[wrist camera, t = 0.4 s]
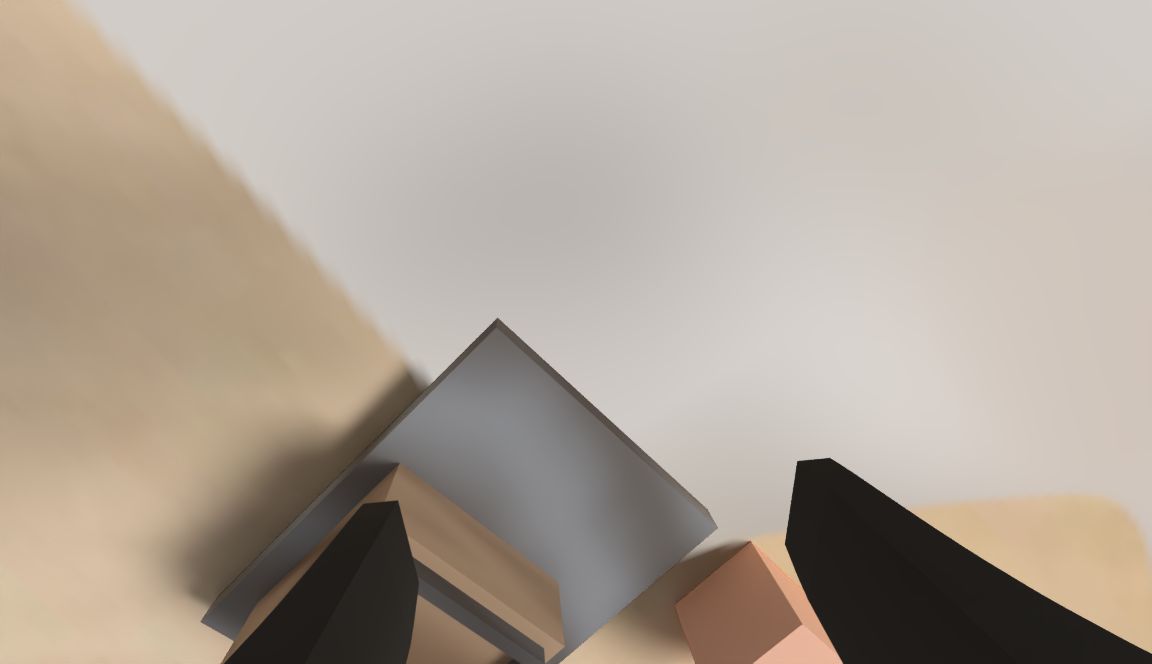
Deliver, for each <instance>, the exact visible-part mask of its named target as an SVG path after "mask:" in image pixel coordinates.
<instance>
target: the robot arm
mask: <svg viewBox="0 0 1152 664" xmlns="http://www.w3.org/2000/svg"><path fill="white" fill-rule="evenodd" d="M785 546H786V548H787V551H788V553H789V556H790V558H791V561H792V563H793V566H794V568H795V571H796V573H797V576H798V578H799V580H800V583H801V585H802V587H803V590H804V592H805V594H806V597H807V599H808V601H809V603H810V605H811V606H812V608H813V610H814V612H815V614H816V616H817V618H818V619H819V621H820V623H821V625H822V627H823V628H824V630H825V632H826V634H827V636H828V638H829V639H830V641H831V643H832V645H833V647H834V648H835V650H836V652H837V654H838V656H839V657H840V659H841V661H842V663H843V664H1152V654H1151V653H1149V652H1147V651H1145V650H1143V649H1141V648H1139V647H1137V646H1135V645H1133V644H1131V643H1129V642H1128V641H1126V640H1124V639H1122V638H1120V637H1118V636H1116V635H1115V634H1113V633H1111V632H1109V631H1107V630H1105V629H1103V628H1102V627H1100V626H1098V625H1096V624H1094V623H1092V622H1090V621H1089V620H1087V619H1085V618H1083V617H1081V616H1079V615H1077V614H1076V613H1074V612H1072V611H1070V610H1068V609H1066V608H1065V607H1063V606H1061V605H1059V604H1058V603H1056V602H1054V601H1052V600H1051V599H1049V598H1047V597H1045V596H1044V595H1042V594H1040V593H1038V592H1037V591H1035V590H1033V589H1031V588H1030V587H1028V586H1027V585H1025V584H1023V583H1022V582H1020V581H1018V580H1017V579H1015V578H1013V577H1012V576H1010V575H1008V574H1007V573H1005V572H1003V571H1002V570H1000V569H998V568H997V567H995V566H993V565H992V564H990V563H988V562H987V561H985V560H984V559H982V558H980V557H979V556H977V555H976V554H974V553H972V552H971V551H969V550H968V549H966V548H965V547H963V546H961V545H960V544H958V543H957V542H955V541H954V540H952V539H951V538H949V537H948V536H946V535H944V534H943V533H941V532H940V531H938V530H937V529H935V528H934V527H932V526H931V525H929V524H928V523H926V522H925V521H923V520H922V519H920V518H919V517H917V516H916V515H914V514H913V513H911V512H910V511H908V510H907V509H905V508H904V507H902V506H901V505H900V504H898V503H897V502H895V501H894V500H892V499H891V498H889V497H888V496H886V495H885V494H883V493H882V492H880V491H879V490H877V489H876V488H875V487H873V486H872V485H870V484H869V483H867V482H866V481H864V480H863V479H861V478H860V477H858V476H857V475H856V474H854V473H853V472H851V471H850V470H848V469H846V468H845V467H843V466H842V465H840V464H839V463H837V462H836V461H834V460H832V459H831V458H825V459H814V460H804V461H797V466H796V473H795V480H794V487H793V493H792V500H791V507H790V514H789V521H788V527H787V534H786V540H785ZM418 589H419V580H418V576H417V572H416V568H415V564H414V560H413V556H412V552H411V549H410V545H409V541H408V537H407V533H406V529H405V525H404V521H403V517H402V514H401V510H400V506H399V502H398V500H395V501H385V502H375V503H364V504H362V506H361V507H360V508H359V509H358V510H357V511H356V512H355V514H354V515H353V516H352V517H351V518H350V519H349V521H348V522H347V523H346V524H345V525H344V527H343V528H342V529H341V530H340V531H339V533H338V534H337V535H336V536H335V537H334V539H333V540H332V541H331V542H330V544H329V545H328V546H327V547H326V548H325V550H324V551H323V552H322V553H321V554H320V556H319V557H318V558H317V559H316V560H315V562H314V563H313V564H312V565H311V566H310V568H309V569H308V570H307V571H306V572H305V573H304V575H303V576H302V577H301V578H300V579H299V580H298V582H297V583H296V584H295V585H294V586H293V587H292V588H291V590H290V591H289V592H288V593H287V594H286V595H285V597H284V598H283V599H282V600H281V601H280V602H279V604H278V605H277V606H276V607H275V608H274V609H273V610H272V612H271V613H270V614H269V615H268V616H267V617H266V618H265V619H264V621H263V622H262V623H261V624H260V625H259V626H258V627H257V628H256V629H255V630H254V631H253V632H252V634H251V635H250V636H249V637H248V638H247V639H246V640H245V641H244V642H243V643H242V644H241V645H240V646H239V648H238V649H237V650H236V651H235V652H234V653H233V654H232V655H231V656H230V657H229V658H228V659H227V660H226V661H225V663H224V664H406V662H407V658H408V654H409V650H410V646H411V640H412V634H413V627H414V620H415V613H416V605H417V597H418Z"/></svg>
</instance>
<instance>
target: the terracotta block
mask: <svg viewBox="0 0 1152 664" xmlns="http://www.w3.org/2000/svg"><path fill="white" fill-rule="evenodd" d="M675 608H676V611H677V614H678V616H679V619H680V622H681V625H682V628H683V630H684V633H685V636H686V639H687V642H688V644H689V647H690V650H691V653H692V656H693V658H694V661H695V664H843V663H842V661H841V659H840V657H839V656H838V654H837V652H836V650H835V648H834V647H833V645H832V643H831V641H830V639H829V638H828V636H827V634H826V632H825V630H824V628H823V627H822V625H821V623H820V621H819V619H818V618H817V616H816V614H815V612H814V610H813V608H812V606H811V605H810V603H809V601H808V599H807V597H806V594H805V592H804V590H803V589H802V588H801V587H800V586H799V585H798V584H797V583H796V582H795V581H794V580H793V579H791V578H790V577H789V576H788V575H787V574H786V573H785V572H784V571H783V570H782V569H781V568H780V567H778V566H777V565H776V564H775V563H774V562H773V561H772V560H771V559H770V558H769V557H768V556H767V555H765V554H764V553H763V552H762V551H761V550H760V549H759V548H758V547H757V546H756V545H755V544H754V543H752V542H749V543H748V544H747V545H746V546H745V547H743V548H742V549H741V550H740V551H739V552H737V553H736V554H735V555H734V556H733V557H731V558H730V559H729V560H728V561H727V562H726V563H724V564H723V565H722V566H721V567H720V568H718V569H717V570H716V571H715V572H714V573H712V574H711V575H710V576H709V577H708V578H706V579H705V580H704V581H703V582H702V583H700V584H699V585H698V586H697V587H696V588H695V589H693V590H692V591H691V592H690V593H689V594H687V595H686V596H685V597H684V598H683V599H681V600H680V601H679V602H678V603H677V604H675Z"/></svg>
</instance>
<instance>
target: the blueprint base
mask: <svg viewBox="0 0 1152 664" xmlns="http://www.w3.org/2000/svg"><path fill="white" fill-rule="evenodd" d="M395 500H398V502H399V506H400V510H401V514H402V517H403V521H404V525H405V529H406V533H407V537H408V541H409V545H410V549H411V552H412V556H413V560H414V564H415V568H416V572H417V576H418V580H419V589H418V597H417V605H416V613H415V620H414V627H413V634H412V640H411V646H410V650H409V654H408V658H407V662H406V664H559V663H560V662H561V661H563V660H564V659H565V658H566V657H567V656H568V655H570V654H571V653H572V652H573V651H574V650H575V649H577V648H578V647H579V646H580V645H581V644H582V643H584V642H585V641H586V640H587V639H588V638H589V637H591V636H592V635H593V634H594V633H595V632H597V631H598V630H599V629H600V628H601V627H602V626H604V625H605V624H606V623H607V622H608V621H609V620H611V619H612V618H613V617H614V616H615V615H616V614H618V613H619V612H620V611H621V610H622V609H623V608H625V607H626V606H627V605H628V604H629V603H631V602H632V601H633V600H634V599H635V598H636V597H638V596H639V595H640V594H641V593H642V592H643V591H645V590H646V589H647V588H648V587H649V586H650V585H652V584H653V583H654V582H655V581H656V580H657V579H659V578H660V577H661V576H662V575H663V574H665V573H666V572H667V571H668V570H669V569H670V568H672V567H673V566H674V565H675V564H676V563H677V562H679V561H680V560H681V559H682V558H683V557H684V556H686V555H687V554H688V553H689V552H690V551H691V550H693V549H694V548H695V547H696V546H697V545H699V544H700V543H701V542H702V541H703V540H704V539H705V538H707V537H708V536H709V535H710V534H711V533H713V532H714V531H715V530H716V529H717V528H718V527H717V525H716V524H715V522H714V520H713V518H712V517H711V515H710V513H709V511H708V509H706V508H705V507H704V506H703V505H702V504H701V503H700V502H699V501H698V500H697V499H696V498H694V497H693V496H692V495H691V494H690V493H689V492H688V491H687V490H686V489H684V488H683V487H682V486H681V485H680V484H679V483H678V482H677V481H676V480H675V479H674V478H672V477H671V476H670V475H669V474H668V473H667V472H666V471H665V470H664V469H663V468H661V467H660V466H659V465H658V464H657V463H656V462H655V461H654V460H653V459H652V458H651V457H650V456H648V455H647V454H646V453H645V452H644V451H643V450H642V449H641V448H639V446H637V445H636V444H635V443H634V442H633V441H632V440H631V439H630V438H629V437H628V436H627V435H625V434H624V433H623V432H622V431H621V430H620V429H619V428H618V427H617V426H616V425H614V424H613V423H612V422H611V421H610V420H609V419H608V418H607V417H606V416H605V415H603V414H602V413H601V412H600V411H599V410H598V409H597V408H596V407H595V406H594V405H593V404H591V403H590V402H589V401H588V400H587V399H586V398H585V397H584V396H583V395H582V394H581V393H579V392H578V391H577V390H576V389H575V388H574V387H573V386H572V385H571V384H570V383H568V382H567V381H566V380H565V379H564V378H563V377H562V376H561V375H560V374H558V372H556V371H555V370H554V369H553V368H552V367H551V366H550V365H549V364H548V363H547V362H546V361H544V360H543V359H542V358H541V357H540V356H539V355H538V354H537V353H536V352H535V351H533V350H532V349H531V348H530V347H529V346H528V345H527V344H526V343H525V342H524V341H522V340H521V339H520V338H519V337H518V336H517V335H516V334H515V333H514V332H513V331H511V330H510V329H509V328H508V327H507V326H506V325H505V324H504V323H503V322H502V321H501V320H500V319H498V318H497V319H496V320H495V321H494V322H493V323H492V324H491V325H490V326H489V327H488V328H487V329H486V330H485V331H484V332H483V333H482V334H481V335H480V336H479V337H478V338H477V339H476V340H475V341H474V342H473V343H472V344H471V345H470V346H469V347H468V348H467V349H466V350H465V351H464V352H463V353H462V354H461V355H460V356H459V357H458V358H457V359H456V360H455V361H454V362H453V363H452V364H451V365H450V366H449V367H448V368H447V369H446V370H445V371H444V372H443V373H442V374H441V375H440V376H439V377H438V378H437V379H436V380H435V381H434V382H433V383H432V384H431V385H430V386H429V387H428V388H427V389H426V390H425V391H424V392H423V393H422V394H421V395H420V396H419V397H418V398H417V399H416V400H415V401H414V402H413V403H412V404H411V405H410V406H409V407H408V408H407V409H406V410H405V411H404V412H403V413H402V414H401V415H400V416H399V417H398V418H397V419H396V420H395V421H394V422H393V423H392V424H391V425H390V426H389V427H388V428H387V429H386V430H385V431H384V432H383V433H382V434H381V435H380V436H379V437H378V438H377V439H376V440H375V441H374V442H373V443H372V444H371V445H370V446H369V447H368V448H367V449H366V450H365V451H364V452H363V453H362V454H361V455H360V456H359V457H358V458H357V459H355V460H354V461H353V462H352V463H351V464H350V465H349V466H348V467H347V468H346V469H345V470H344V471H343V472H342V473H341V474H340V475H339V476H338V477H337V478H336V479H335V480H334V481H333V482H332V483H331V484H330V485H329V486H328V487H327V488H326V489H325V490H324V491H323V492H322V493H321V494H320V495H319V496H318V497H317V498H316V499H315V500H314V501H313V502H312V503H311V504H310V505H309V506H308V507H307V508H306V509H305V510H304V511H303V512H302V513H301V514H300V515H299V516H298V517H297V518H296V519H295V520H294V521H293V522H292V523H291V524H290V525H289V526H288V527H287V528H286V529H285V530H284V531H283V532H282V533H281V534H280V535H279V536H278V537H277V538H276V539H275V540H274V541H273V542H272V543H271V544H270V545H269V546H268V547H267V548H266V549H265V550H264V551H263V552H262V553H261V554H260V555H259V556H258V557H257V558H256V559H255V560H254V561H253V562H252V563H251V564H250V565H249V566H248V567H247V568H246V569H245V570H244V571H243V572H242V573H241V574H240V575H239V576H238V577H237V578H236V579H235V580H234V581H233V582H232V583H231V584H230V585H229V586H228V587H227V588H226V589H225V590H224V591H223V592H222V593H221V594H220V595H219V596H218V597H217V598H216V600H215V601H214V603H213V604H212V606H211V607H210V609H209V610H208V611H207V613H206V614H205V616H204V617H203V619H202V620H201V622H202V623H203V624H205V625H207V626H209V627H210V628H212V629H214V630H216V631H217V632H219V633H221V634H223V635H225V636H226V637H228V638H230V639H232V640H233V641H234V642H233V644H232V646H231V647H230V649H229V651H228V652H227V654H226V656H225V658H224V659H223V661H222V663H221V664H224V663H225V661H226V660H227V659H228V658H229V657H230V656H231V655H232V654H233V653H234V652H235V651H236V650H237V649H238V648H239V646H240V645H241V644H242V643H243V642H244V641H245V640H246V639H247V638H248V637H249V636H250V635H251V634H252V632H253V631H254V630H255V629H256V628H257V627H258V626H259V625H260V624H261V623H262V622H263V621H264V619H265V618H266V617H267V616H268V615H269V614H270V613H271V612H272V610H273V609H274V608H275V607H276V606H277V605H278V604H279V602H280V601H281V600H282V599H283V598H284V597H285V595H286V594H287V593H288V592H289V591H290V590H291V588H292V587H293V586H294V585H295V584H296V583H297V582H298V580H299V579H300V578H301V577H302V576H303V575H304V573H305V572H306V571H307V570H308V569H309V568H310V566H311V565H312V564H313V563H314V562H315V560H316V559H317V558H318V557H319V556H320V554H321V553H322V552H323V551H324V550H325V548H326V547H327V546H328V545H329V544H330V542H331V541H332V540H333V539H334V537H335V536H336V535H337V534H338V533H339V531H340V530H341V529H342V528H343V527H344V525H345V524H346V523H347V522H348V521H349V519H350V518H351V517H352V516H353V515H354V514H355V512H356V511H357V510H358V509H359V508H360V507H361V506H362V504H364V503H375V502H385V501H395Z"/></svg>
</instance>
